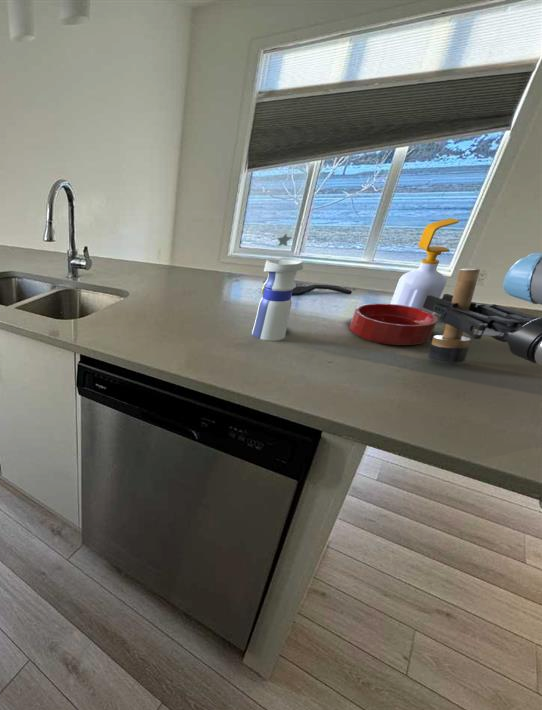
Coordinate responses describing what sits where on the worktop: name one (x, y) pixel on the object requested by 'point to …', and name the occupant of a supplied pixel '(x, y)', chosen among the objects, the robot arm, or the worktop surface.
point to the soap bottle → (423, 272)
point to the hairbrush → (304, 289)
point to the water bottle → (276, 297)
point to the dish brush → (452, 341)
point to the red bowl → (393, 324)
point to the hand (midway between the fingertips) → (435, 300)
